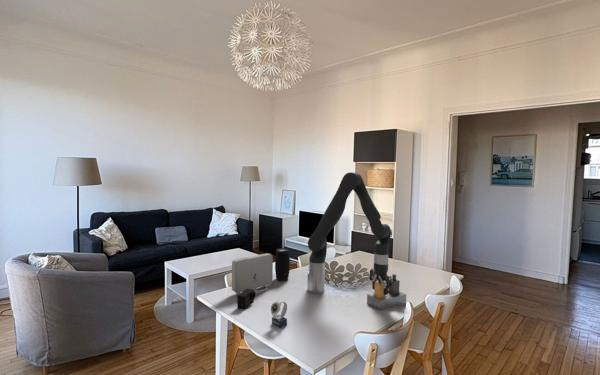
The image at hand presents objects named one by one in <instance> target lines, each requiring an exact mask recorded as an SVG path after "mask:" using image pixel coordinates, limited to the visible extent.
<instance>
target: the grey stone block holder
mask: <svg viewBox="0 0 600 375" xmlns="http://www.w3.org/2000/svg"><path fill="white" fill-rule="evenodd" d="M366 295H367V296H366V297H367V298H366V303H367V304H368V305H370V306H371V307H374V308H375V309H377V310H378V311H382V310H386V309H390V308H396V307H399V306H403V305H406V304H407V293H404V292H401V291H400V290H399V294H398V295H392V294H390V293H388V294H387V295H385V298H380V299H379V298H377V297H375V296H374V292H371V293H367V294H366Z"/></svg>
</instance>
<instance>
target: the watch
mask: <svg viewBox="0 0 600 375" xmlns="http://www.w3.org/2000/svg"><path fill="white" fill-rule="evenodd" d="M282 303H283V306H282V310H281V305H282ZM287 311H288V304H287V302H286V301H284V300H282V299H279V300H277V301H275V302H273V303H272V305H271V306H270V312H271V315H272V318H271V325H273V326H275V327H276V328H278V329H282V328H284V327H286V326H288V318H287V317H285V316H286V314H287ZM279 312H280V314H278V313H279Z"/></svg>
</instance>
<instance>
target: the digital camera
mask: <svg viewBox="0 0 600 375" xmlns="http://www.w3.org/2000/svg"><path fill="white" fill-rule="evenodd" d="M256 294H257V293H255V291H254V289H245V290H244V291H243V292H240V294H237V300H236V302H237V305H236V306H237V309H238V310H246V309H247V308H249V307H250V306H251V305H252V304H254V302H255V299H256Z"/></svg>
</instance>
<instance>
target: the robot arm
mask: <svg viewBox="0 0 600 375" xmlns="http://www.w3.org/2000/svg"><path fill="white" fill-rule="evenodd" d="M352 192H354V193H355V194H356V196H357V197H358V199H359V203H360V207H361V210H362V212H363V214H364V215H365V217H366V219H367V222H369V226H370V230H371V232H372V234H373V236H374V237H375V238H377V241H376V242H375V243H374V251H373V252H374V255H373V268H372V269H369V270H370V271H369V281H371V284H372V285H371V287H372V290H374V291H375V282H378V281H380V282H381V283H382V284H383V286H384V295H387V294H388V288H391V287H392V276H391V275H388V272H389V245H390V240H391V235H392V230H391V227H390V226H389V225H388V224H387V223H382V221H381V219H382V218H381V217H382V216H381V214H380V212H379V210H378V209H377V206H376V205H375V203H374V202H373V200H372V198H371V196H370V194H369V192H368V189H367V187H366V184H365V182H364V180H363V177H362V175H361V174H360V173H359V172H358V173H357V172H354V171H353V172H352V171H349V172H346V173H345V174H344V175H343V176H342V178H341V180H340V183H339V185H338V188H337V191H336V192H335V194H334V195H333V197H332V198H331V201H330V202H329V204H328V206H327V207H326V210H325V211H324V212H323V215H322V217H321V219H320V221H319V222H318V225H317V227H316V228H315V230H314V232H312V234H311V235H310V237H309V238H308V241H307V247H308V249H309V250H310V251H311V253H310V255H309V257H308V258H309V259H308V260H309V261H308V262H309V265H308V273H307V290H308V291H309V292H311V293H313V294H315V293H319V294H320V293H323V292H325V280H326V279H325V276H326V274H325V273H326V271H325V270H326V258H327V250H328V249H327V248H328V240H327V236H328V234H329V233H330V232H331V230H333V228H335V226H336V225H337V224H338V222H339V221H340V219H341V217H342V215H343V214H344V212H345V209H346V204H347V201H348V198H349V196H350V194H351V193H352ZM385 284H386V285H385Z"/></svg>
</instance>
